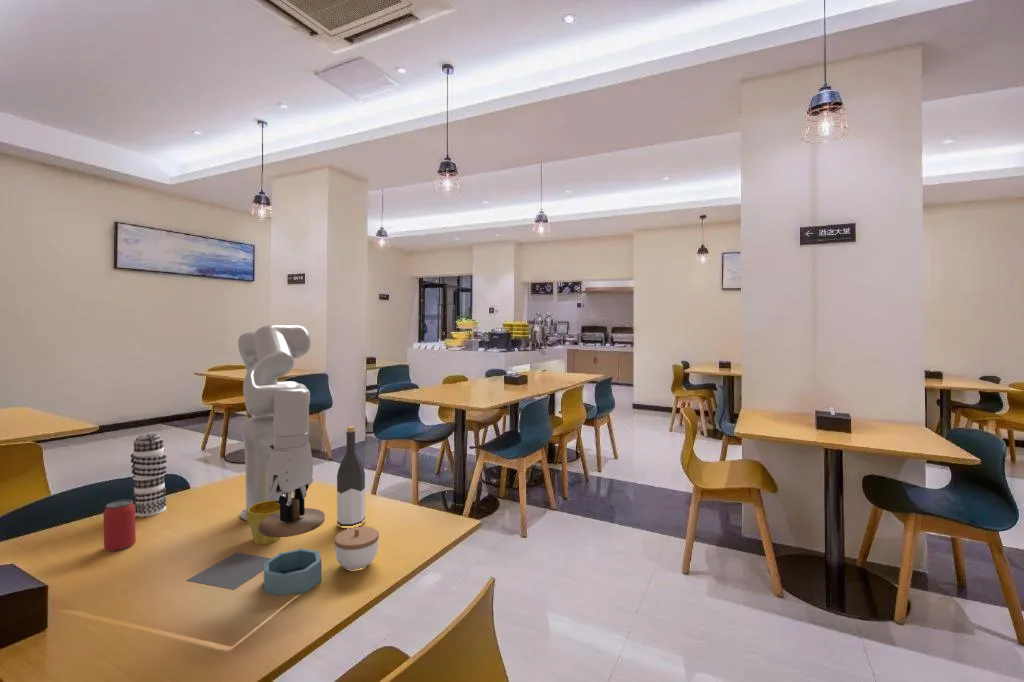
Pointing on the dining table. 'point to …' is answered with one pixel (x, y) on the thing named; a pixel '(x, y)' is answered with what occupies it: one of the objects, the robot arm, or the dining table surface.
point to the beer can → (119, 525)
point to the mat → (231, 571)
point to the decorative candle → (149, 475)
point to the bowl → (292, 572)
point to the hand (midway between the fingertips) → (292, 517)
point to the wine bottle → (350, 486)
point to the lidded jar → (356, 547)
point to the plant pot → (257, 515)
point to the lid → (298, 526)
